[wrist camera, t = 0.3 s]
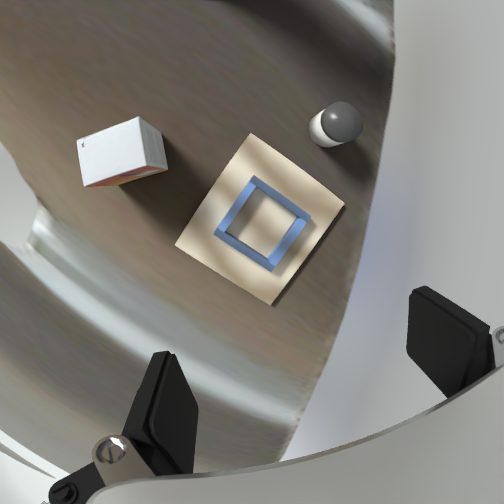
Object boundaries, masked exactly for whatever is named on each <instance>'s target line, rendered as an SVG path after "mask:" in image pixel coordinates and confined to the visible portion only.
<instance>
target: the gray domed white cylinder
mask: <svg viewBox="0 0 504 504" xmlns="http://www.w3.org/2000/svg"><path fill="white" fill-rule="evenodd" d="M362 128H363V121H362V117H361V115H360V113H359V112H358V110H357V109H356V108H355V107H354V106H352V105H351V104H349V103H346V102H335V103H333V104H331V105H330V106H328V107H327V108H326V109H324V110H323V111H321V112H320V113H319V114H317V115H316V116H315V117H313V118H312V119H311V121H310V123H309V134H310V137H311V138H312V140H313V141H314V142H315V143H316V144H318V145H319V146H322V147H332V146H336V145H339V144H342V143H345V142H349V141H352V140H354V139H356V138H357V137H358V136H359V135H360V134H361V132H362Z"/></svg>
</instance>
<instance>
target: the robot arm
mask: <svg viewBox="0 0 504 504" xmlns="http://www.w3.org/2000/svg"><path fill="white" fill-rule="evenodd" d="M489 330H490V326H489V325H487V324H486V323H484V322H483V321H481V320H480V319H478V318H477V317H475V316H474V315H472V314H471V313H469V312H467V311H466V310H465V309H463V308H461V307H460V306H458V305H457V304H455V303H453V302H452V301H450V300H449V299H447V298H445V297H444V296H442V295H441V294H439V293H437V292H436V291H434V290H432V289H431V288H429V287H427V286H422V287H419V288H416V289H414V290H413V291H412V294H411V295H410V296H409V315H408V333H407V346H406V350H407V353H408V355H409V357H410V358H411V359H412V360H413V361H414V362H415V363H416V364H417V365H418V366H419V367H420V368H421V370H422V371H423V372H424V373H425V374H426V375H427V376H428V377H429V378H430V379H431V380H432V381H433V383H434V384H435V385H436V386H437V387H438V388H439V389H440V390H441V391H442V392H443V394H444V395H445V396H446V397H447V398H448V399H446V400H445V401H443V402H441V403H439V404H438V405H436V406H434V407H432V408H430V409H428V410H426V411H424V412H422V413H420V414H419V415H416V416H414V417H412V418H410V419H408V420H405V421H403V422H401V423H399V424H397V425H394V426H392V427H390V428H388V429H385V430H383V431H381V432H378V433H375V434H373V435H370V436H367V437H365V438H362V439H360V440H357V441H354V442H351V443H348V444H345V445H342V446H339V447H336V448H332V449H329V450H326V451H322V452H319V453H315V454H312V455H308V456H304V457H300V458H296V459H291V460H287V461H282V462H277V463H272V464H267V465H261V466H255V467H249V468H242V469H234V470H226V471H218V472H207V473H193V466H194V454H195V443H196V432H197V422H198V411H199V410H198V405H197V402H196V400H195V398H194V396H193V394H192V392H191V389H190V387H189V385H188V383H187V381H186V378H185V376H184V374H183V371H182V369H181V367H180V364H179V362H178V360H177V357H176V355H175V354H171V353H170V352H169V351H163V352H156V353H154V354H153V356H152V358H151V361H150V363H149V366H148V368H147V371H146V373H145V376H144V378H143V381H142V384H141V386H140V388H139V389H138V391H137V394H136V396H135V399H134V401H133V404H132V407H131V410H130V412H129V415H128V418H127V420H126V423H125V426H124V429H123V432H122V435H109V436H107V437H104V438H103V439H101V440H100V441H98V442H97V443H96V445H95V446H94V448H93V450H92V458H93V461H94V462H92V463H90V464H89V465H87V466H85V467H83V468H81V469H80V470H78V471H76V472H74V473H72V474H70V475H69V476H67V477H65V478H63V479H61V480H59V481H57V482H56V483H55V484H53V486H52V487H51V488H50V491H49V502H48V503H46V502H45V501H44V502H42V503H41V504H504V326H501V327H498V328H496V329H495V330H494V331H493V333H492V335H491V334H489Z"/></svg>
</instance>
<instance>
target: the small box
mask: <svg viewBox="0 0 504 504" xmlns="http://www.w3.org/2000/svg"><path fill="white" fill-rule="evenodd" d="M77 147H78V154H79V161H80V167H81V173H82V178H83V183H84V187H93V186H114V185H120V184H123V183H126V182H129V181H132V180H135V179H138V178H142V177H145V176H149V175H152V174H156V173H159V172H163V171H167V170H168V166H167V160H166V155H165V150H164V145H163V140H162V135H161V133H160V132H159V131H157V130H156V129H155V128H154V127H152V126H151V125H149V124H148V123H147V122H145V121H144V120H143V119H141V118H140V117H136V118H134V119H131V120H129V121H126V122H124V123H121V124H118V125H115V126H113V127H110V128H108V129H105V130H102V131H100V132H97V133H95V134H92V135H90V136H87V137H84V138H81V139H79V140H77Z"/></svg>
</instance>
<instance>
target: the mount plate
mask: <svg viewBox="0 0 504 504" xmlns="http://www.w3.org/2000/svg"><path fill="white" fill-rule="evenodd" d="M343 205H344V202H342V201H341V200H340V199H339V198H338V197H336V196H335V195H334V194H333V193H331V192H330V191H329V190H328V189H326V188H325V187H324V186H323V185H321V184H320V183H319V182H317V181H316V180H315V179H314V178H312V177H311V176H310V175H308V174H307V173H306V172H304V171H303V170H302V169H300V168H299V167H298V166H296V165H295V164H294V163H292V162H291V161H290V160H288V159H287V158H286V157H284V156H283V155H281V154H280V153H279V152H277V151H276V150H274V149H273V148H272V147H270V146H269V145H267V144H266V143H264V142H263V141H262V140H260V139H259V138H257V137H256V136H254V135H253V134H251V133H250V135H249V136H248V137H247V139H246V140H245V141H244V143H243V144H242V146H241V147H240V148H239V150H238V151H237V152H236V154H235V155H234V157H233V158H232V159H231V161H230V162H229V164H228V165H227V166H226V168H225V169H224V171H223V172H222V174H221V175H220V177H219V178H218V179H217V181H216V182H215V184H214V185H213V187H212V188H211V190H210V191H209V193H208V194H207V196H206V197H205V199H204V200H203V202H202V203H201V205H200V206H199V208H198V209H197V211H196V212H195V214H194V215H193V217H192V218H191V220H190V221H189V223H188V225H187V226H186V228H185V229H184V231H183V232H182V234H181V236H180V237H179V239H178V240H177V242H176V244H175V246H177V247H178V248H180V249H181V250H183V251H185V252H186V253H188V254H189V255H191V256H192V257H194V258H195V259H197V260H198V261H200V262H202V263H203V264H205V265H206V266H208V267H209V268H211V269H212V270H214V271H216V272H217V273H219V274H220V275H222V276H224V277H225V278H227V279H228V280H230V281H231V282H233V283H235V284H236V285H238V286H240V287H241V288H243V289H244V290H246V291H248V292H249V293H251V294H252V295H254V296H256V297H257V298H259V299H261V300H262V301H264V302H266V303H267V304H269V305H271V304H272V302H273V301H274V300H275V299H276V297H277V296H278V295H279V293H280V292H281V291H282V289H283V288H284V287H285V285H286V284H287V283H288V281H289V280H290V279H291V277H292V276H293V275H294V273H295V272H296V271H297V269H298V268H299V267H300V265H301V264H302V262H303V261H304V260H305V258H306V257H307V256H308V254H309V253H310V252H311V250H312V249H313V247H314V246H315V245H316V243H317V242H318V240H319V239H320V238H321V236H322V235H323V233H324V232H325V231H326V229H327V228H328V226H329V225H330V223H331V222H332V221H333V219H334V218H335V216H336V215H337V213H338V212H339V211H340V209H341V208H342V206H343Z"/></svg>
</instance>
